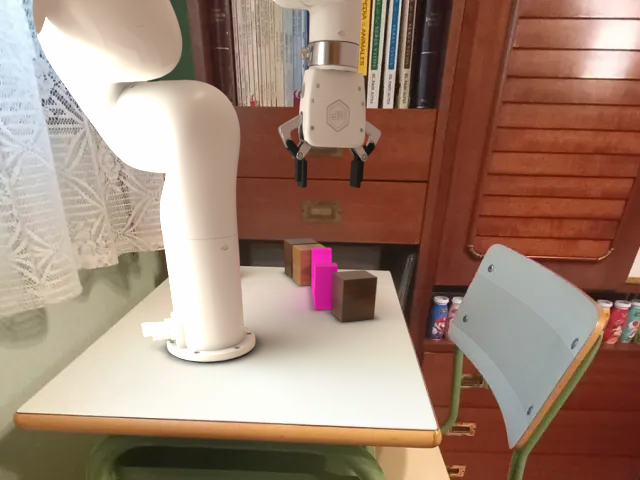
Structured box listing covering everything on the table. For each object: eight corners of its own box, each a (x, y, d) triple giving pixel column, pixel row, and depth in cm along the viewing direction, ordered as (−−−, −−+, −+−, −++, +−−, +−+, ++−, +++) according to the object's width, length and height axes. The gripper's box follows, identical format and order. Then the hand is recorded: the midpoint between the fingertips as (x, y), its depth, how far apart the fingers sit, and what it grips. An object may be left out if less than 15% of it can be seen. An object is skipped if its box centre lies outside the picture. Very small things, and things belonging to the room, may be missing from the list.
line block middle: (300, 286, 97) (300, 250, 94) (292, 279, 101) (292, 245, 98) (327, 284, 99) (328, 248, 96) (319, 277, 103) (320, 243, 100)
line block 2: (341, 322, 80) (343, 280, 76) (330, 312, 84) (332, 272, 80) (374, 318, 82) (377, 277, 78) (361, 309, 86) (364, 269, 82)
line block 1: (291, 278, 102) (290, 244, 98) (284, 272, 106) (283, 239, 102) (317, 276, 104) (318, 242, 100) (310, 270, 108) (310, 238, 104)
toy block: (349, 310, 86) (352, 266, 82) (314, 309, 85) (315, 266, 81) (341, 286, 98) (343, 247, 94) (311, 285, 98) (311, 247, 94)
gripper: (285, 52, 67) (286, 189, 76) (396, 63, 72) (384, 189, 81) (271, 58, 73) (273, 184, 82) (374, 68, 78) (365, 185, 87)
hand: (328, 187), depth 81 cm, fingers open, 9 cm apart
